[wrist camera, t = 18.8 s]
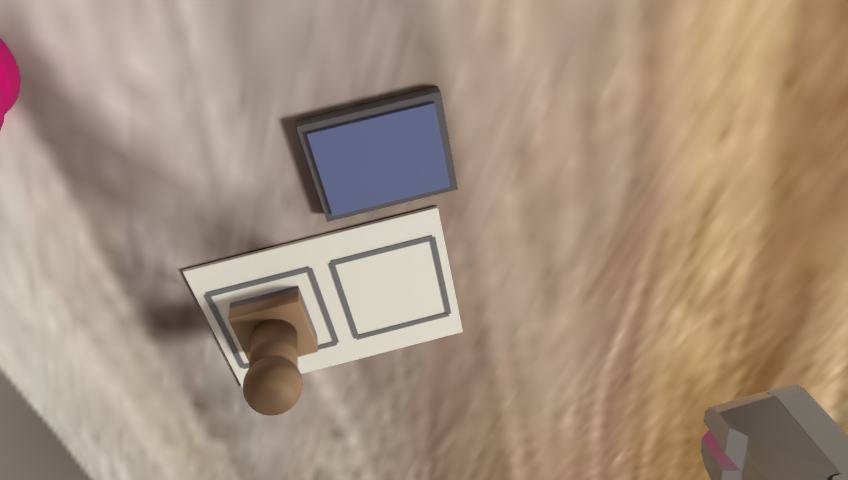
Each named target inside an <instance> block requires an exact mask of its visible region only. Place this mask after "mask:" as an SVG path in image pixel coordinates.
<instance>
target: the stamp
mask: <svg viewBox="0 0 848 480" xmlns="http://www.w3.org/2000/svg"><path fill="white" fill-rule="evenodd" d="M228 320H229V322H230V325H231V327H232V329H233V331H234V333H235V335H236V337H237V339H238V341H239V343H240V345H241V347H242V349H243V351H244V353H245V355H246V357H247V359H248V362H249V369H248V371H247V373H246V375H245V378H244V381H243V393H244V397H245V399H246V401H247V403H248V404H249V406H250V407H251V408H252V409H254V410H255V411H257V412H259V413H261V414H264V415H278V414H282V413H284V412H286V411H288V410H289V409H291V408H292V407H293V406H294V405H295V404H296V402H297V401H298V399H299V397H300V395H301V392H302V384H303V383H302V377H301V373H300V371H299V369H298V357H300V356H304V355H307V354H311V353H315V352H318V340H317V333H316V331H315V328H314V326H313V323H312V320H311V318H310V315H309V313H308V310H307V307H306V305H305V302H304V299H303V297H302V294H301V292H300V289H299V286H295V287H292V288H288V289H284V290H280V291H276V292H272V293H268V294H264V295H260V296H256V297H252V298H248V299H244V300H240V301H236V302H232V303H230V307H229V315H228Z"/></svg>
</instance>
